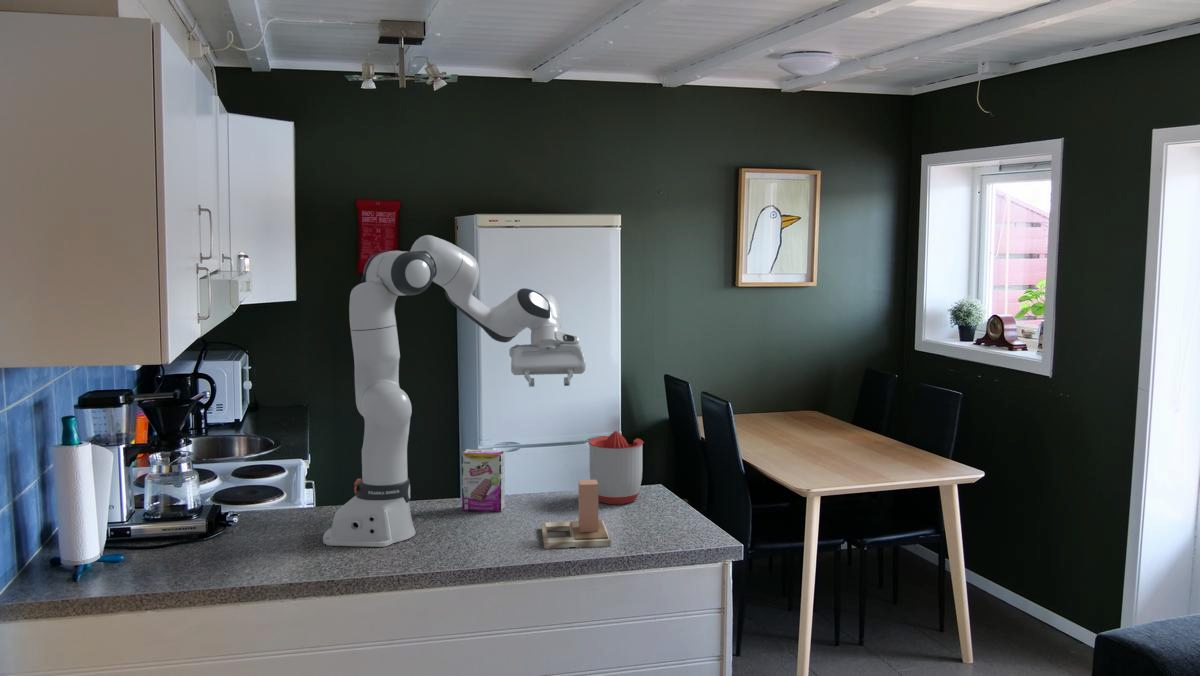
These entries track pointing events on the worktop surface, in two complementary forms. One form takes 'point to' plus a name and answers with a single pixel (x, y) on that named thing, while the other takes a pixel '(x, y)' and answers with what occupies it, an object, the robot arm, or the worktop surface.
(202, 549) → the worktop surface
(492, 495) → the candy bar box
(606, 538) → the hole board
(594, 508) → the terracotta block
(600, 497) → the citrus juicer
